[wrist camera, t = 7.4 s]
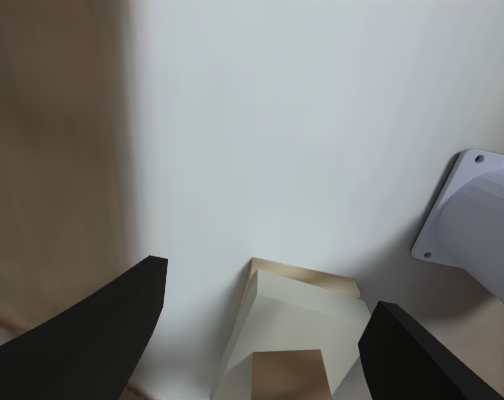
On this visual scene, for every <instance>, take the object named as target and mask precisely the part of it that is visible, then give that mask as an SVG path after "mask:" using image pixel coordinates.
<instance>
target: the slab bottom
mask: <svg viewBox="0 0 504 400" xmlns="http://www.w3.org/2000/svg"><path fill="white" fill-rule="evenodd" d="M258 269H260V270H264V271H267V272H270V273H274V274H277V275H280V276H284V277H287V278H291V279H294V280H297V281H301V282H304V283H307V284H311V285H314V286H317V287H321V288H324V289H328V290H331V291H334V292H338V293H341V294H344V295H348V296H351V297H354V298H358V299H359V298H360V296H361V293H360V291H359V289H358V287H357V285H356V283H355V281H354V279H351V278H347V277H342V276H337V275H333V274H328V273H324V272H319V271H314V270H310V269H305V268H301V267H296V266H292V265H287V264H282V263H278V262H273V261H269V260H264V259H259V258H255V257H252V260H251V264H250V268H249V271H248V275H247V279H246V282H245V286H244V290H243V294H242V297H241V301H240V305H239V308H238V312H237V316H236V319H235V323H234V327H235V324H236V322H237V319H238V317H239V314H240V312H241V309H242V307H243V305H244V302H245V300H246V297H247V295H248V292H249V290H250V287H251V285H252V282H253V280H254V277H255V275H256V272H257V270H258ZM234 327H233V329H234ZM232 332H233V330H232Z"/></svg>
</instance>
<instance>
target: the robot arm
mask: <svg viewBox="0 0 504 400" xmlns="http://www.w3.org/2000/svg"><path fill="white" fill-rule="evenodd" d="M477 156H479V159H478V160H477V161H476V162H475V158H476V157H477ZM426 252H428V254H426V255H424V254H425V253H426ZM411 254H412V255H413V257H414V258H416V259H419V260H423V261H428V262H433V263H438V264H443V265H448V266H453V267H458V268H462V269H464V270H466V271H467V272H468V273H469V274H470V275H471V276H472V277H474V278H475V279H476V280H477V281H478V282H479V283H481V284H482V285H483V286H484V287H485V288H486V289H487V290H489V291H490V292H491V293H492V294H493V295H494V296H496V297H497V298H498V299H499V300H500V301H501V302H502V303H504V156H503V155H499V154H494V153H490V152H486V151H481V150H477V149H472V148H468V149H465V150H464V151H462V152H461V154H460V155H459V157H458V159H457V161H456V163H455V165H454V167H453V169H452V171H451V173H450V175H449V177H448V179H447V181H446V183H445V185H444V187H443V189H442V191H441V193H440V195H439V197H438V199H437V201H436V203H435V205H434V207H433V209H432V211H431V212H430V214H429V216H428V218H427V220H426V222H425V224H424V226H423V228H422V230H421V232H420V234H419V236H418V238H417V240H416V242H415V244H414V246H413V248H412V250H411ZM167 265H168V259H165V258H160V257H155V256H148V257H146V258H145V259H143V260H142V261H140V262H139V263H138V264H136V265H135V266H133V267H132V268H130V269H129V270H128V271H126V272H125V273H123V274H122V275H120V276H119V277H117V278H116V279H114V280H113V281H111V282H110V283H108V284H107V285H105V286H104V287H102V288H101V289H99V290H98V291H96V292H95V293H93V294H92V295H90V296H88V297H87V298H85V299H84V300H82V301H80V302H79V303H77V304H75V305H74V306H72V307H70V308H69V309H67V310H65V311H64V312H62V313H60V314H59V315H57V316H55V317H54V318H52V319H50V320H48V321H46V322H45V323H43V324H41V325H39V326H37V327H36V328H34V329H32V330H30V331H28V332H26V333H24V334H22V335H20V336H18V337H17V338H15V339H13V340H11V341H9V342H7V343H5V344H3V345H1V346H0V400H118V399H119V397H120V395H121V393H122V391H123V390H124V388H125V386H126V384H127V382H128V380H129V378H130V376H131V375H132V373H133V371H134V369H135V367H136V365H137V363H138V361H139V359H140V357H141V356H142V354H143V352H144V350H145V348H146V346H147V344H148V342H149V340H150V338H151V336H152V334H153V331H154V329H155V326H156V324H157V321H158V319H159V316H160V313H161V311H162V308H163V303H164V294H165V284H166V275H167ZM358 348H359V353H360V358H361V363H362V367H363V371H364V375H365V379H366V382H367V385H368V388H369V391H370V393H371V396H372V399H373V400H504V398H503V397H502V396H501V395H500V394H499V393H497V392H496V391H495V390H494V389H493V388H492V387H490V386H489V385H488V384H487V383H486V382H484V381H483V380H482V379H481V378H480V377H479V376H477V375H476V374H475V373H474V372H473V371H472V370H471V369H469V368H468V367H467V366H466V365H465V364H464V363H463V362H462V361H460V360H459V359H458V358H457V357H456V356H455V355H454V354H453V353H451V352H450V351H449V350H448V349H447V348H446V347H445V346H444V345H443V344H441V343H440V342H439V341H438V340H437V339H436V338H435V337H434V336H433V335H431V334H430V333H429V332H428V331H427V330H426V329H425V328H424V327H423V326H422V325H420V324H419V323H418V322H417V321H416V320H415V319H414V318H412V317H411V316H410V315H409V314H408V313H407V312H405V311H404V310H403V309H402V308H400V307H399V306H398V305H397V304H393V303H388V302H383V301H379V302H378V304H377V306H376V308H375V310H374V312H373V314H372V316H371V318H370V320H369V322H368V324H367V326H366V328H365V330H364V332H363V334H362V336H361V338H360V340H359V342H358Z"/></svg>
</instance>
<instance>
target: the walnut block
mask: <svg viewBox="0 0 504 400" xmlns="http://www.w3.org/2000/svg"><path fill="white" fill-rule="evenodd" d="M251 400H332V396H331V392H330V388H329V383H328V379H327V375H326V370H325V366H324V362H323V357H322V353H321V349H315V350H291V351H268V352H253V362H252V388H251Z"/></svg>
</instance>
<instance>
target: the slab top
mask: <svg viewBox="0 0 504 400" xmlns="http://www.w3.org/2000/svg"><path fill="white" fill-rule="evenodd" d="M370 318H371V314H370V312H369V310H368V308H367V306H366V304H365V302H364V300H361V299H358V298H354V297H351V296H348V295H344V294H341V293H338V292H334V291H331V290H328V289H324V288H321V287H317V286H314V285H311V284H307V283H304V282H301V281H297V280H294V279H291V278H287V277H284V276H280V275H277V274H274V273H270V272H267V271H264V270H260V269H258V270H257V272H256V275H255V277H254V280H253V282H252V285H251V287H250V290H249V292H248V295H247V297H246V300H245V302H244V305H243V307H242V309H241V312H240V314H239V317H238V319H237V322H236V324H235V327H234V329H233V332H232V334H231V337H230V339H229V342H228V344H227V346H226V349H225V351H224V354H223V356H222V359H221V361H220V364H219V366H218V369H217V371H216V374H215V376H214V379H213V384H212V389H211V395H210V400H251V388H252V362H253V352H268V351H291V350H315V349H321V353H322V357H323V362H324V366H325V370H326V375H327V379H328V383H329V388H330V392H331V396H332V395H333V393H334V392H335V391H336V389H337V388H338V386H339V385H340V383H341V382H342V380H343V379H344V377H345V376H346V375H347V373H348V372H349V370H350V369H351V367H352V366H353V364H354V363H355V361H356V360H357V358H358V357H359V356H360V353H359V348H358V342H359V340H360V338H361V336H362V334H363V332H364V330H365V328H366V326H367V324H368V322H369V320H370Z"/></svg>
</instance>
